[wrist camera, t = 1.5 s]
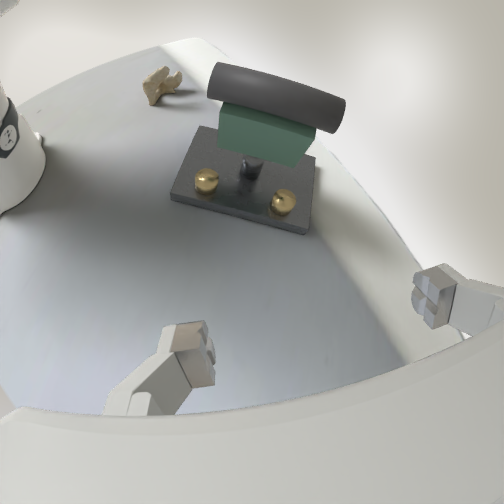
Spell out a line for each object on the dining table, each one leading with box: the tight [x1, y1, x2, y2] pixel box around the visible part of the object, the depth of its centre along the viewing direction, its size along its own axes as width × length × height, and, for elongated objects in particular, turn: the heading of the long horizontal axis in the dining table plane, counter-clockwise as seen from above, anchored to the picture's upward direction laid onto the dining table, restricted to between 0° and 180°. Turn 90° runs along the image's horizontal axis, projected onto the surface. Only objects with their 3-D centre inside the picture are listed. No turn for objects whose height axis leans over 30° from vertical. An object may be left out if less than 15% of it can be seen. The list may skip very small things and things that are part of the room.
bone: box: [143, 66, 182, 106], centre depth 45 cm, size 9×6×10 cm
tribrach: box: [170, 126, 316, 235], centre depth 41 cm, size 20×14×7 cm
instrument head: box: [207, 62, 346, 168], centre depth 31 cm, size 13×6×14 cm, turn 79°
